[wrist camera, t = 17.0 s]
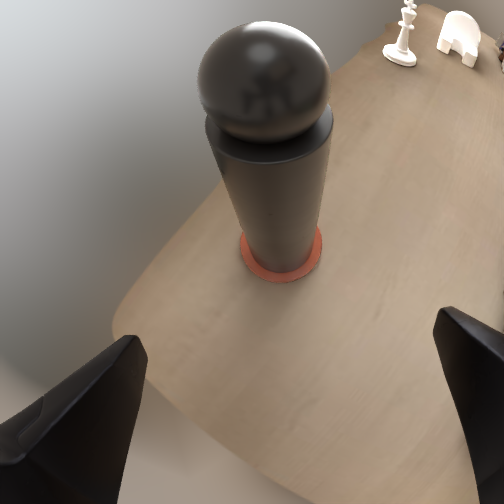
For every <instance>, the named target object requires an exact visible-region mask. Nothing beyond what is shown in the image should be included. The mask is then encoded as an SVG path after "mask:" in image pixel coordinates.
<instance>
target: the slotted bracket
mask: <svg viewBox="0 0 504 504" xmlns="http://www.w3.org/2000/svg"><path fill="white" fill-rule="evenodd" d="M480 39H481V35H480V28H479V26H478V24H477V23H476V21H475V20H474V19H473V18H472V17H471V16H470V15H468V14H466V13H464V12H461V11H453V12H450V13H449V14H448V15H447V16H446V18H445V21H444V25H443V29H442V31H441V34H440V38H439V41H438V44H437V48H438V49H439V50H440V51H442V52H444V53H446V54H448V53H449V50H450V49H452V50H455V51H456V52H458V53H459V54H461V56H462V63H464V64H465V65H467V66H469V67H471V68H473V66H474V64H475V61H476V59H477V56H478V55H477V48H478V45H479V43H480Z"/></svg>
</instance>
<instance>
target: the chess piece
mask: <svg viewBox="0 0 504 504" xmlns="http://www.w3.org/2000/svg"><path fill="white" fill-rule="evenodd" d="M413 1H414V0H409V2H408V1H404V3H405V4H407V5H408V7H407V8H402V15H403V20H404V21H400V22H399V25H400V26H402V30H401V33H400V36H399V38H398V41H397V43H396V44H394V45H386V46H385V47H384V49H383V54H384V55H385V56H386V57H387V58H388V59H389V60H391V61H393V62H395V63H397V64H400V65H404V66H414V65H415V64H416V57H415V55H414V54H413V53H412V52H411V51H409V49H408V37H409V30H414V26H413V25H411V22H412V21H413V19H414V18H415V17H416V15H417V14H416V12H414V11H413V10H412V8H414V9H416V8H417V6H416V5H414V4H413Z"/></svg>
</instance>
